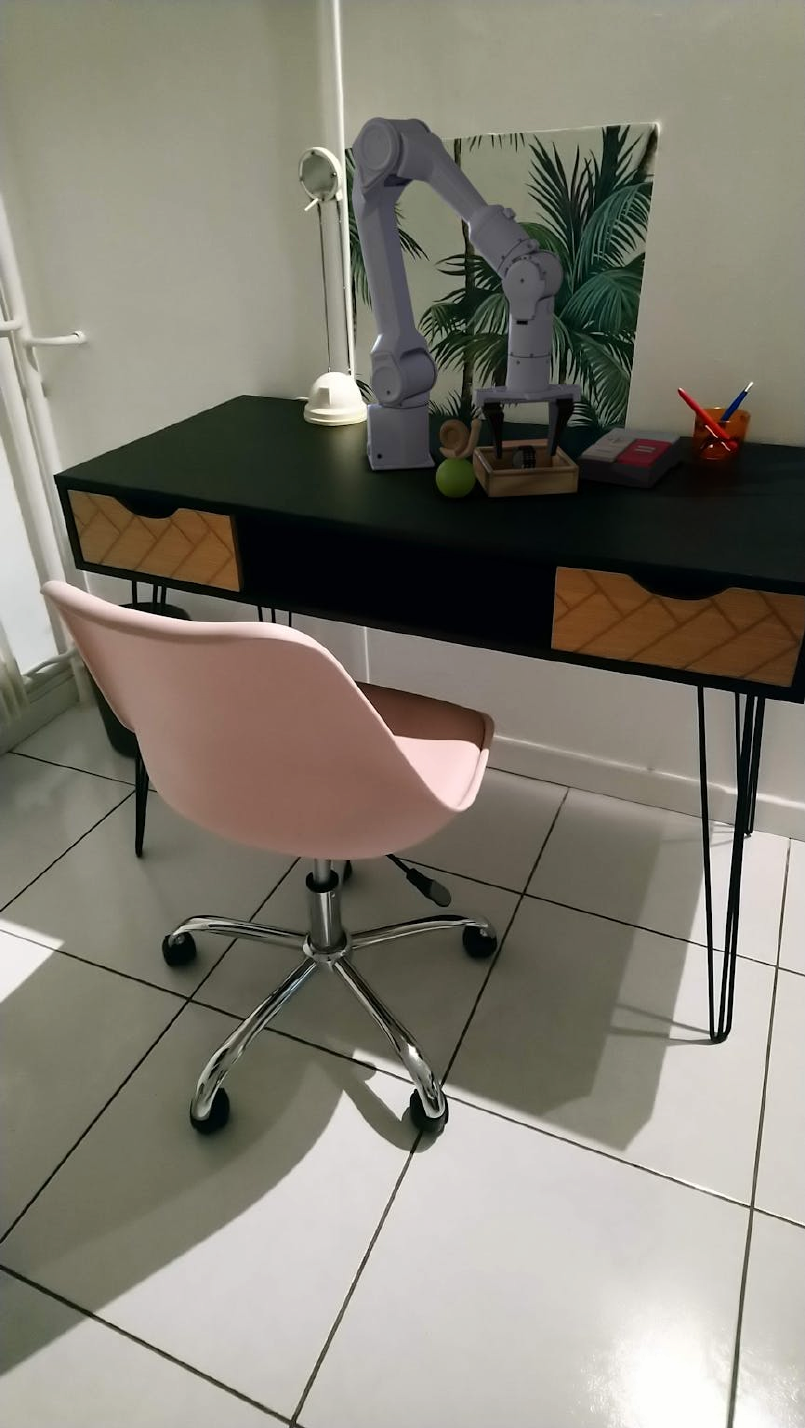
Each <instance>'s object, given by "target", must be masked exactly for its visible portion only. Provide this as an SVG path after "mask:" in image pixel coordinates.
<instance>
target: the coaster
mask: <svg viewBox="0 0 805 1428" xmlns="http://www.w3.org/2000/svg"><path fill="white" fill-rule="evenodd" d="M547 440H548V438H538V439H537V438H536V439H520V440H517V439H515V440H502V446H509V445H529V444H547Z"/></svg>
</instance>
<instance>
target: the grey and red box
mask: <svg viewBox="0 0 805 1428" xmlns="http://www.w3.org/2000/svg"><path fill="white" fill-rule="evenodd" d="M683 442H684V437H683V436H680V435H679V434H672V433H663V432H655V431H647V430H637V429H629V428H621V427H614V428H613V429H611V430H610V431H609V432H608V433H606V434H604V435H603V436H602V437H600V438H599V439H598V440H597V441H595V443H593V444H592V445H591V446H590V447H588V448H587V449H586V450H584V451H583V452H582V453H581V455H579V456H578V457H577V458H576V465H577V466H578V467H579V473H578V480H586V481H592V482H599V483H607V484H612V485H618V486H619V485H620V486H625V487H626V486H627V487H632V488H633V487H634V488H640V489H648V490H649V489H651V488H652V487H653V486H654V485H655V484H656V483H657V482H658V481H659V479H661V478H662V477H663V476H664V474H665V473H666V472H668V471H669V470H670V469H673V468H675V467H676V465H678V464H679V462H680V461H681V457H682V450H683Z"/></svg>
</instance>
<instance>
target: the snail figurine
mask: <svg viewBox="0 0 805 1428" xmlns="http://www.w3.org/2000/svg"><path fill="white" fill-rule="evenodd" d="M476 415H477V416H478V417H477V418H474V419H473V420H472V421H471V422H470V426H471V430H470V431H469V428H468V427H467V425H465V423H463V422H462V421H461V420H459V419H448V420H446V421H445V422H444V423H443V424H442V425H441V426H440V430H439V440H440V442H441V445H442V446H441V447H439V451H440V453H441V454H442V455H443V456H444V457H445V458H447V459H445V460H443V461H442V462H441V464H440V465H439V466H438V468H437V470H436V473H435V483H436V486H437V488H438V490H439V491H440V492H441V494H443V495H444V496H445V497H446V498H447V497H448V498H450V499H460V498H464V497H465V496H467V495H469V494H470V492H471V491H472V490H473V489H474V487H475V485H476V480H477V477H476V474H475V470H474V468H473V464H472V463H471V462H470V461H468V460H467V458H469V457H470V456H473V452H474V450H475V448H476V447H477V446H478V442H479V438H480V432H481V429H482V427H483V426H482V425H483V422H482V418H480V416H481V415H483V410H482V409H479V410H477V411H476Z"/></svg>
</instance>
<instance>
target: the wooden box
mask: <svg viewBox="0 0 805 1428" xmlns="http://www.w3.org/2000/svg"><path fill="white" fill-rule="evenodd" d="M529 445H532V446H533V449H534V450H535V451H536V455H537V459H536V468H530V469H516V468H515V467H514V466H512V462H511V456H512V454H513V452H514V451H515V450H516V449H518V447H519V446H520V445H509V446H502V459H496V458H495V456H494V449H493V445H492V446H476V448H475V450H474V452H473V453H472V466H473V468H474V470H475V474H476V479H477V480H478V482H479V484H480V486H482V488H483V490H484V492H485V493H486V495H487V496H488V498H501V497H520V496H521V497H522V496H537V495H538V496H539V495H552V494H553V495H554V494H569V493H570V494H571V493H578V484H579V478H578V473H579V467H578V466H577V463H576V462H574V461H573V460H572V458H571V457H569V455H568V454H567V453H566V452H565V451H564V450H563V449H562V447H560V446H559V445H558V447H557V450H556V455H555V456H550V455H549V454H548V453H547V444H529Z"/></svg>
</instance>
